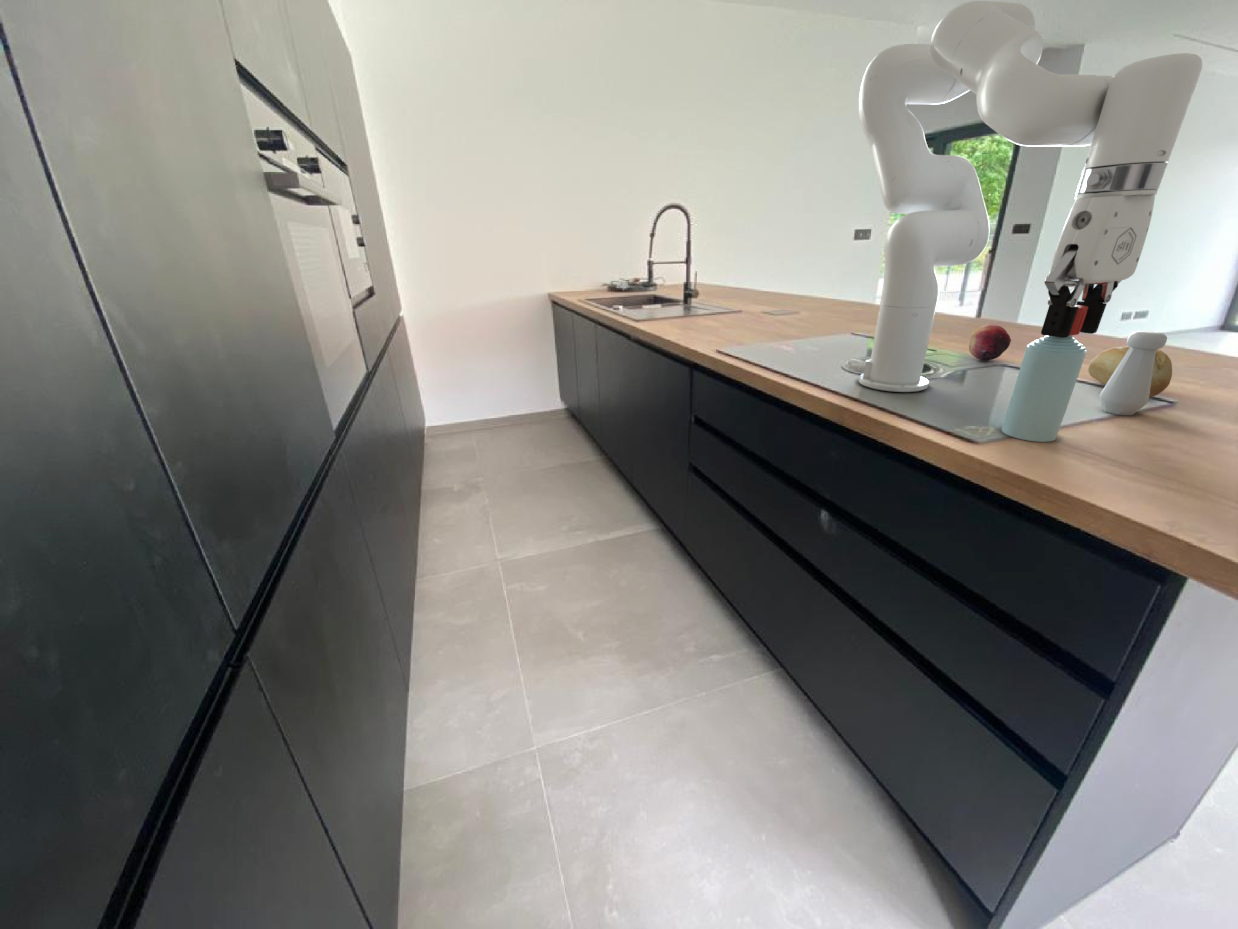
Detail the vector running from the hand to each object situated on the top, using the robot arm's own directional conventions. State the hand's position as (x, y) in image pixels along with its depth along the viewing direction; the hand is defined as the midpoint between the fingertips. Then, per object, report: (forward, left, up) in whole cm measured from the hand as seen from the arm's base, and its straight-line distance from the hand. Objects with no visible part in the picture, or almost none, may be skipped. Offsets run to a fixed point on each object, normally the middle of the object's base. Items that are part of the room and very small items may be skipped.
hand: (1068, 332), depth 69 cm
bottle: (-1, 0, -15) cm, 15 cm away
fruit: (-12, +50, -15) cm, 54 cm away
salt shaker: (+10, +20, -15) cm, 27 cm away
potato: (+11, +36, -15) cm, 41 cm away
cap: (-1, 0, 0) cm, 1 cm away
